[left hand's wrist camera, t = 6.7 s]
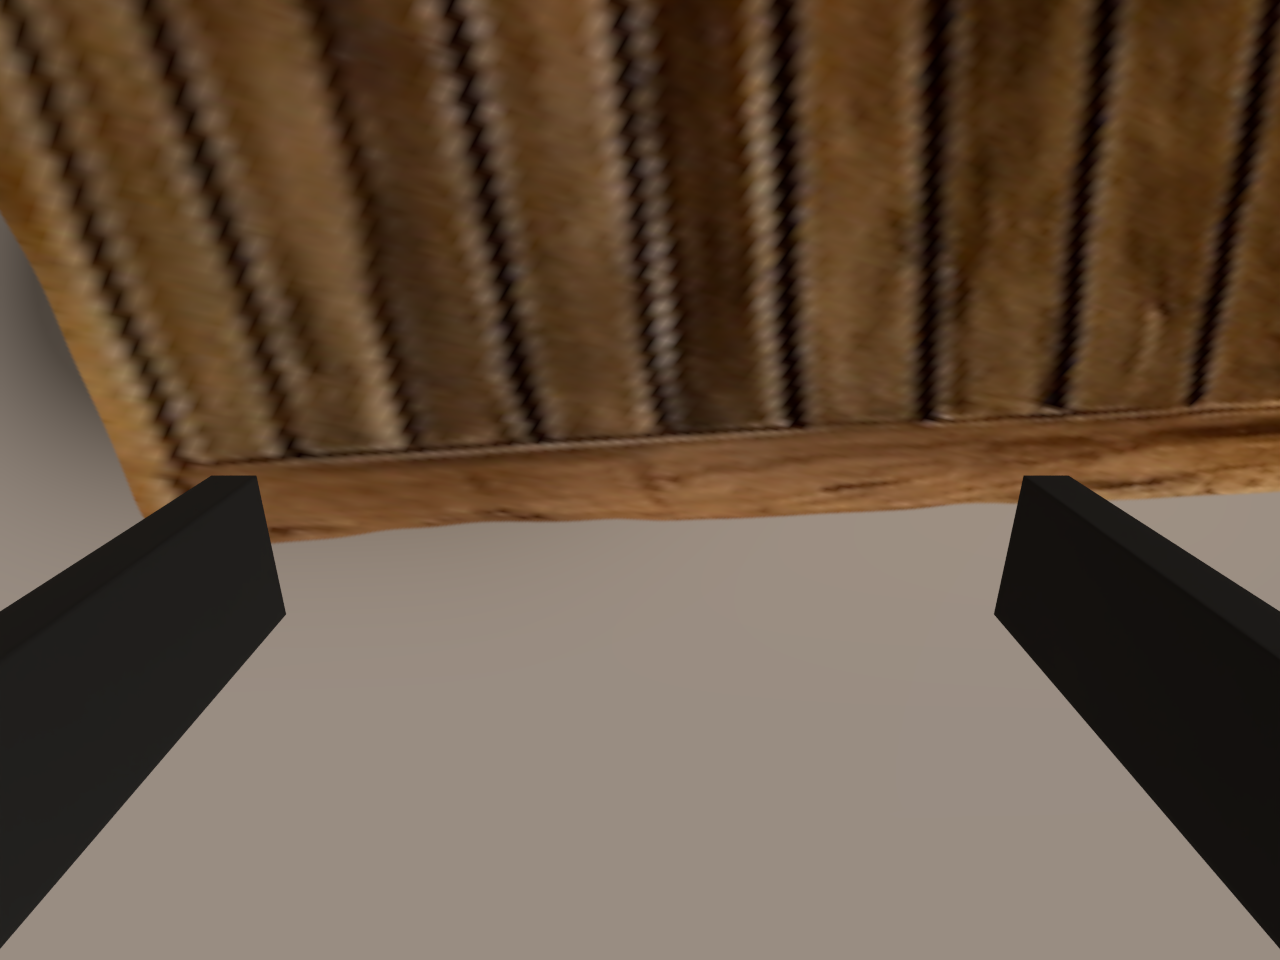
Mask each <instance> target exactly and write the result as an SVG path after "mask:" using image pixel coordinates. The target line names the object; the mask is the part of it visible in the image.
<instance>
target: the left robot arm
mask: <svg viewBox="0 0 1280 960" xmlns="http://www.w3.org/2000/svg"><path fill="white" fill-rule="evenodd" d="M285 615H286V612H285V607H284V603H283V598H282V593H281V589H280V584H279V579H278V575H277V570H276V565H275V561H274V556H273V551H272V547H271V542H270V537H269V533H268V528H267V523H266V519H265V514H264V509H263V505H262V500H261V495H260V491H259V486H258V481H257V477H256V476H210V477H209V478H207V479H206V480H204V481H202V482H201V483H199V484H198V485H196V486H195V487H193V488H192V489H190V490H188V491H187V492H185V493H184V494H182V495H181V496H179V497H178V498H176V499H174V500H173V501H171V502H170V503H168V504H167V505H165V506H164V507H162V508H160V509H159V510H157V511H156V512H154V513H153V514H151V515H150V516H148V517H146V518H145V519H143V520H142V521H140V522H139V523H137V524H136V525H134V526H132V527H131V528H129V529H128V530H126V531H125V532H123V533H122V534H120V535H118V536H117V537H115V538H114V539H112V540H111V541H109V542H108V543H106V544H105V545H103V546H101V547H100V548H98V549H97V550H95V551H94V552H92V553H90V554H89V555H87V556H86V557H84V558H83V559H81V560H80V561H78V562H76V563H75V564H73V565H72V566H70V567H69V568H67V569H66V570H64V571H62V572H61V573H59V574H58V575H56V576H55V577H53V578H52V579H50V580H48V581H47V582H45V583H44V584H42V585H41V586H39V587H38V588H36V589H35V590H33V591H31V592H30V593H28V594H27V595H25V596H24V597H22V598H20V599H19V600H17V601H16V602H14V603H13V604H11V605H10V606H8V607H6V608H5V609H3V610H2V611H0V948H1V947H2V946H3V945H4V944H5V942H6V941H7V940H8V939H9V938H10V936H11V935H12V934H13V933H14V932H15V931H16V930H17V928H18V927H19V926H20V925H21V924H22V923H23V921H24V920H25V919H26V918H27V917H28V915H29V914H30V913H31V912H32V911H33V910H34V908H35V907H36V906H37V905H38V904H39V903H40V901H41V900H42V899H43V898H44V897H45V896H46V894H47V893H48V892H49V891H50V890H51V888H52V887H53V886H54V885H55V884H56V883H57V882H58V880H59V879H60V878H61V877H62V876H63V875H64V873H65V872H66V871H67V870H68V869H69V867H70V866H71V865H72V864H73V863H74V862H75V861H76V859H77V858H78V857H79V856H80V855H81V853H82V852H83V851H84V850H85V849H86V848H87V846H88V845H89V844H90V843H91V842H92V841H93V839H94V838H95V837H96V836H97V835H98V834H99V832H100V831H101V830H102V829H103V828H104V827H105V825H106V824H107V823H108V822H109V821H110V819H111V818H112V817H113V816H114V815H115V814H116V812H117V811H118V810H119V809H120V808H121V807H122V806H123V804H124V803H125V802H126V801H127V800H128V798H129V797H130V796H131V795H132V794H133V793H134V791H135V790H136V789H137V788H138V787H139V786H140V784H141V783H142V782H143V781H144V780H145V779H146V777H147V776H148V775H149V774H150V773H151V772H152V770H153V769H154V768H155V767H156V766H157V765H158V763H159V762H160V761H161V760H162V759H163V758H164V756H165V755H166V754H167V753H168V752H169V751H170V749H171V748H172V747H173V746H174V745H175V744H176V742H177V741H178V740H179V739H180V738H181V737H182V735H183V734H184V733H185V732H186V731H187V729H188V728H189V727H190V726H191V725H192V724H193V722H194V721H195V720H196V719H197V718H198V717H199V715H200V714H201V713H202V712H203V711H204V710H205V708H206V707H207V706H208V705H209V704H210V703H211V701H212V700H213V699H214V698H215V697H216V696H217V694H218V693H219V692H220V691H221V690H222V689H223V687H224V686H225V685H226V684H227V683H228V681H229V680H230V679H231V678H232V677H233V676H234V675H235V673H236V672H237V671H238V670H239V669H240V667H241V666H242V665H243V664H244V663H245V662H246V660H247V659H248V658H249V657H250V656H251V655H252V653H253V652H254V651H255V650H256V649H257V648H258V646H259V645H260V644H261V643H262V642H263V641H264V639H265V638H266V637H267V636H268V635H269V634H270V632H271V631H272V630H273V629H274V628H275V627H276V625H277V624H278V623H279V622H280V621H281V619H282V618H283V617H284V616H285ZM994 615H995V616H996V617H997V618H998V620H999V621H1000V622H1001V623H1002V624H1003V625H1004V626H1005V628H1006V629H1007V630H1008V631H1009V632H1010V634H1011V635H1012V636H1013V637H1014V638H1015V639H1016V641H1017V642H1018V643H1019V644H1020V645H1021V646H1022V648H1023V649H1024V650H1025V651H1026V652H1027V653H1028V655H1029V656H1030V657H1031V658H1032V659H1033V660H1034V662H1035V663H1036V664H1037V665H1038V666H1039V667H1040V669H1041V670H1042V671H1043V672H1044V673H1045V675H1046V676H1047V677H1048V678H1049V679H1050V680H1051V682H1052V683H1053V684H1054V685H1055V686H1056V687H1057V688H1058V690H1059V691H1060V692H1061V693H1062V694H1063V696H1064V697H1065V698H1066V699H1067V700H1068V701H1069V703H1070V704H1071V705H1072V706H1073V707H1074V708H1075V710H1076V711H1077V712H1078V713H1079V714H1080V715H1081V717H1082V718H1083V719H1084V720H1085V721H1086V722H1087V724H1088V725H1089V726H1090V727H1091V728H1092V730H1093V731H1094V732H1095V733H1096V734H1097V735H1098V737H1099V738H1100V739H1101V740H1102V741H1103V742H1104V744H1105V745H1106V746H1107V747H1108V748H1109V749H1110V751H1111V752H1112V753H1113V754H1114V755H1115V756H1116V758H1117V759H1118V760H1119V761H1120V762H1121V763H1122V765H1123V766H1124V767H1125V768H1126V769H1127V770H1128V772H1129V773H1130V774H1131V775H1132V776H1133V777H1134V779H1135V780H1136V781H1137V782H1138V783H1139V784H1140V786H1141V787H1142V788H1143V789H1144V790H1145V791H1146V793H1147V794H1148V795H1149V796H1150V797H1151V799H1152V800H1153V801H1154V802H1155V803H1156V804H1157V806H1158V807H1159V808H1160V809H1161V810H1162V811H1163V813H1164V814H1165V815H1166V816H1167V817H1168V818H1169V820H1170V821H1171V822H1172V823H1173V824H1174V825H1175V826H1176V828H1177V829H1178V830H1179V831H1180V832H1181V834H1182V835H1183V836H1184V837H1185V838H1186V839H1187V841H1188V842H1189V843H1190V844H1191V845H1192V846H1193V848H1194V849H1195V850H1196V851H1197V852H1198V854H1199V855H1200V856H1201V857H1202V858H1203V859H1204V860H1205V862H1206V863H1207V864H1208V865H1209V866H1210V868H1211V869H1212V870H1213V871H1214V872H1215V873H1216V875H1217V876H1218V877H1219V878H1220V879H1221V880H1222V882H1223V883H1224V884H1225V885H1226V886H1227V887H1228V889H1229V890H1230V891H1231V892H1232V893H1233V894H1234V896H1235V897H1236V898H1237V899H1238V900H1239V901H1240V903H1241V904H1242V905H1243V906H1244V907H1245V908H1246V910H1247V911H1248V912H1249V913H1250V914H1251V915H1252V917H1253V918H1254V919H1255V920H1256V921H1257V923H1258V924H1259V925H1260V926H1261V927H1262V928H1263V930H1264V931H1265V932H1266V933H1267V934H1268V935H1269V936H1270V938H1271V939H1272V940H1273V941H1274V942H1275V944H1276V945H1277V946H1278V947H1279V948H1280V611H1278V610H1277V609H1275V608H1274V607H1272V606H1270V605H1269V604H1267V603H1266V602H1264V601H1263V600H1261V599H1260V598H1258V597H1256V596H1255V595H1253V594H1252V593H1250V592H1249V591H1247V590H1246V589H1244V588H1242V587H1241V586H1239V585H1238V584H1236V583H1235V582H1233V581H1232V580H1230V579H1228V578H1227V577H1225V576H1224V575H1222V574H1221V573H1219V572H1218V571H1216V570H1214V569H1213V568H1211V567H1210V566H1208V565H1207V564H1205V563H1204V562H1202V561H1200V560H1199V559H1197V558H1196V557H1194V556H1193V555H1191V554H1190V553H1188V552H1186V551H1185V550H1183V549H1182V548H1180V547H1179V546H1177V545H1176V544H1174V543H1172V542H1171V541H1169V540H1168V539H1166V538H1165V537H1163V536H1162V535H1160V534H1158V533H1157V532H1155V531H1154V530H1152V529H1151V528H1149V527H1148V526H1146V525H1144V524H1143V523H1141V522H1140V521H1138V520H1137V519H1135V518H1134V517H1132V516H1130V515H1129V514H1127V513H1126V512H1124V511H1123V510H1121V509H1120V508H1118V507H1116V506H1115V505H1113V504H1112V503H1110V502H1109V501H1107V500H1106V499H1104V498H1102V497H1101V496H1099V495H1098V494H1096V493H1095V492H1093V491H1092V490H1090V489H1088V488H1087V487H1085V486H1084V485H1082V484H1081V483H1079V482H1078V481H1076V480H1074V479H1073V478H1071V477H1070V476H1024V477H1023V481H1022V486H1021V491H1020V495H1019V500H1018V505H1017V509H1016V514H1015V519H1014V523H1013V528H1012V533H1011V538H1010V542H1009V547H1008V551H1007V556H1006V561H1005V565H1004V570H1003V575H1002V579H1001V584H1000V589H999V593H998V598H997V603H996V607H995V612H994Z"/></svg>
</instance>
